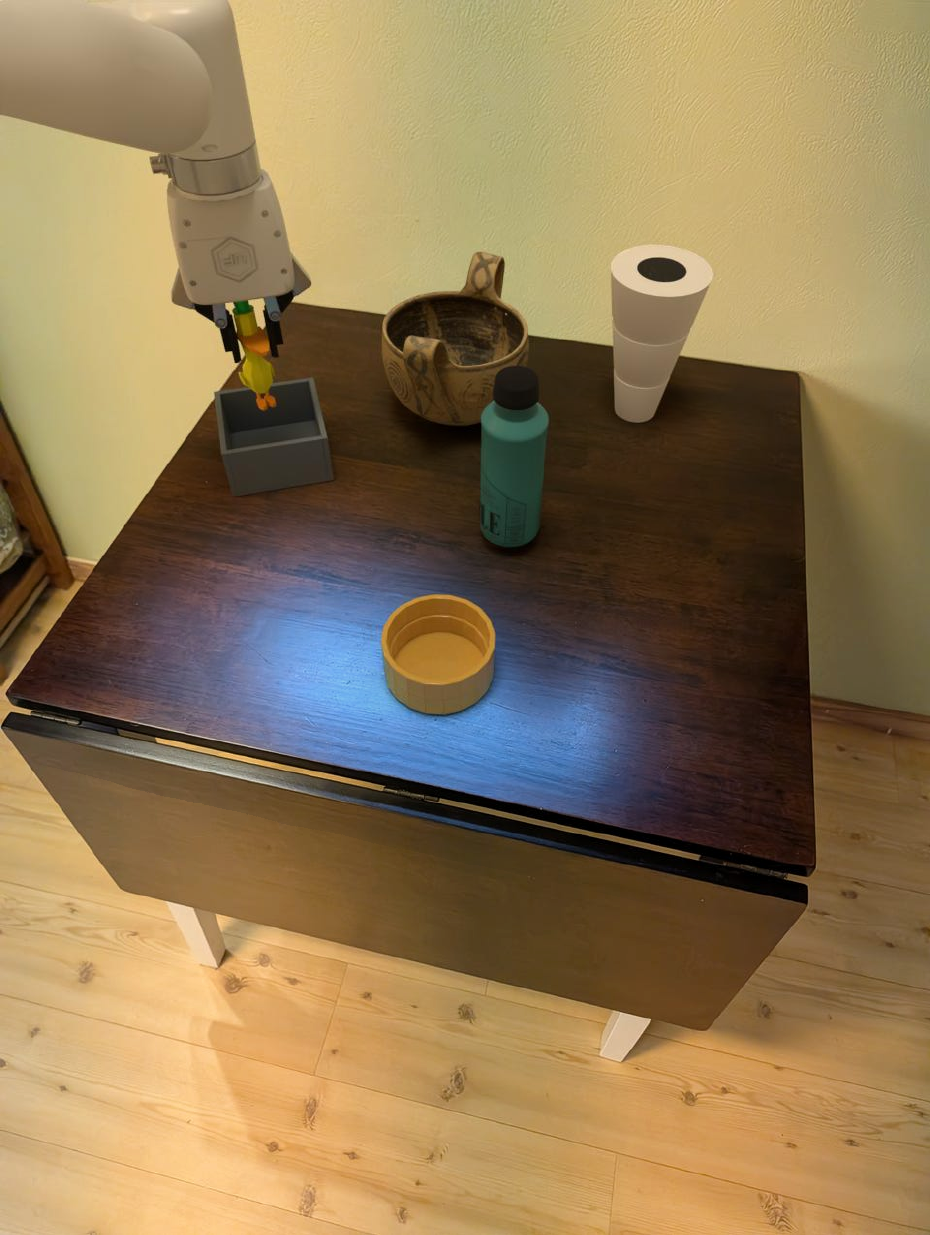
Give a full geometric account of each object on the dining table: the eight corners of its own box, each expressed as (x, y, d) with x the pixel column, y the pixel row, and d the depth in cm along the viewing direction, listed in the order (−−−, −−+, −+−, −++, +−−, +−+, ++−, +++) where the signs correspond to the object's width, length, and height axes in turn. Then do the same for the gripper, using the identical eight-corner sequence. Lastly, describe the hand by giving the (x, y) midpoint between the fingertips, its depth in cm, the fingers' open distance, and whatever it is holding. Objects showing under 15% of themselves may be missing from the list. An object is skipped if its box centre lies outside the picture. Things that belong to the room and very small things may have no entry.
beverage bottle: (550, 530, 90) (568, 368, 74) (519, 569, 86) (531, 407, 70) (497, 507, 92) (505, 345, 76) (465, 544, 88) (465, 382, 73)
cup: (619, 447, 98) (645, 305, 84) (575, 396, 104) (592, 256, 90) (696, 424, 101) (733, 283, 87) (648, 375, 107) (676, 236, 93)
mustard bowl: (397, 726, 74) (393, 694, 70) (376, 639, 80) (371, 605, 76) (506, 703, 76) (508, 670, 72) (477, 619, 82) (478, 585, 78)
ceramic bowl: (488, 481, 94) (491, 365, 83) (352, 445, 98) (337, 329, 87) (549, 371, 108) (560, 258, 96) (427, 343, 111) (423, 232, 100)
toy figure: (295, 415, 90) (274, 313, 81) (264, 427, 89) (240, 324, 80) (268, 383, 94) (246, 282, 84) (238, 394, 93) (212, 293, 83)
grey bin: (233, 497, 93) (221, 454, 88) (225, 434, 100) (213, 391, 95) (334, 480, 94) (327, 437, 90) (320, 419, 101) (313, 377, 97)
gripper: (115, 195, 69) (175, 386, 83) (316, 173, 71) (341, 362, 85) (116, 156, 73) (172, 344, 87) (305, 138, 76) (329, 322, 90)
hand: (255, 351), depth 86 cm, fingers closed on toy figure, 3 cm apart
